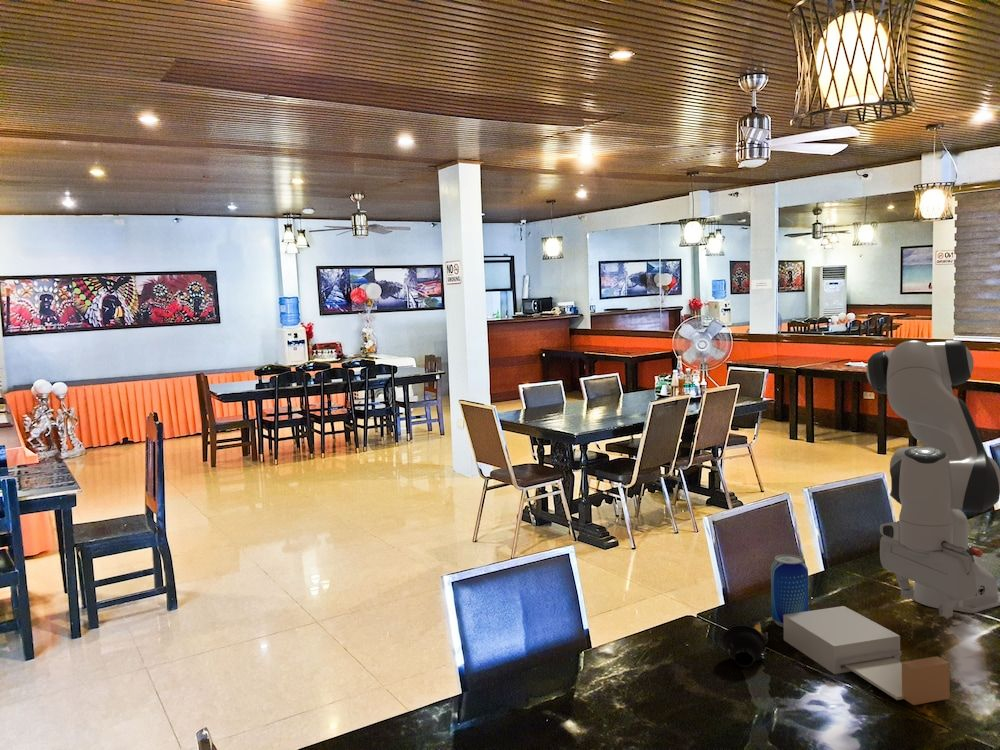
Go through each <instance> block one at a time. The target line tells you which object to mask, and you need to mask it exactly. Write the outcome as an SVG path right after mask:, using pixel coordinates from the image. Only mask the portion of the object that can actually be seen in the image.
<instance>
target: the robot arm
mask: <svg viewBox="0 0 1000 750" xmlns="http://www.w3.org/2000/svg"><path fill="white" fill-rule="evenodd" d="M974 363H975V361H974V357H973V355H972V352H971V351H970V349H969V348H968V346H967V345H966V343H964V342H962V341H961V340H956V339H955V340H954V339H950V340H949V339H947V340H945V341H932V342H931V341H930V342H924V341H922V340H914V339H913V340H912V339H911V340H906V341H904V342H903V341H902V342H901V343H899V344H898V345H896V346H895V347H894V348H892V349H889V350H885V349H883V350H881V351H877V352H875V353H872V354H871V355H870V357H869V358H868V359H867V363H866V364H867V365H866V373H865V374H866V378H867V380H868V383H869V385H870V386H871V388H872V390H874V391H875V392H876V393H878V394H881V395H887V400H888V403H889V405H890V408H891V410H892V411H894V413H895V414H896V415H898V416H899V417H900V418H902V419H904V420H905V421H906V422H907V426H908V430H909V432H910V434H911V435H912V436H913V438H914V439H916V440H917V441H919V442H920V443H922V444H923V445H925V446H921V445H920V446H919V445H917V446H916V445H915V446H905V447H900V448H898V449H897V450H896V451H894V453H893V454H892V456H891V458H890V460H889V474H890V478H891V479H890V483H891V485H890V486H891V490H890V493H889V495H890V497H891V498H892V499H894V501H896V502H897V503H898V504H900V505H901V507H900V508H901V509H900V512H899V516H898V518H899V519H898V520H897V521H892V522H887V523H882V524H881V523H880V526H879V532H880V535H882V536H881V538H880V541H879V558H880V560H879V561H880V563H881V566H882V567H883V569H884V570H887V571H889V572H891V573H894V574H895V579H896V581H897V584H898V586H899V587H900V597H901V598H903V599H906V600H913V601H915V602H917V603H918V604H921V605H924V606H927V607H929V608H930V607H931V608H935V609H938V614H939V615H940V616H942V617H944V618H945V619H946V618H952V617H953V615H954V611H956V612H961V613H962V612H963V613H968V614H975V613H978V612H982V611H984V610H985V611H986V610H989V609H993V608H995V607H998V606H1000V591H999V589H998V588H999V587H998V582H997V579H996V577H995V576H994V575H993V574H992V573H990V571H988V570H987V569H986V568H984V567H983V566H981V564H979V563H977V562H976V561H975V558H974V556H976V557H977V558H982V556H983V555H984V551H983V550H982V549H981V548H977V547H972V548H971V547H969V520H968V518H967V516H966V514H965V513H964V512H963V511H965V512H972V513H983V512H985V511H988V510H989V509H991V508H992V507H993V506H994V505H996V504H997V503H998V502H999V500H1000V467H999V465H998V464H997V461H995V460H994V459H993V458H992V457H991V456H988V453H987V451H986V448H985V446H984V444H983V440H982V439H981V435H980V433H979V431H978V428H977V426H976V424H975V421H974V419H973V416H972V414H971V412H970V410H969V408H968V406H967V405H966V403H965V401H964V400H962V399H961V398H959V397H956V396H954V392H953V388H952V386H953V387H955V386H959V385H962V384H964V383H967V382H968V381H969V380H970V378H971V377H972V373H973V370H974V366H975V364H974ZM910 581H913V582H914V584H913V587H911V583H910Z"/></svg>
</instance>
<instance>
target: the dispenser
mask: <svg viewBox="0 0 1000 750" xmlns="http://www.w3.org/2000/svg"><path fill="white" fill-rule="evenodd" d="M783 624H784V628H783V642H786V643H787V644H789V645H790V646H792V647H793V648H795V649H796V650H797V651H799V652H800V653H802V654H804V655H806V657H808V658H810V659H811V660H812V661H814V662H815V663H817V664H818V665H820V666H821V667H823V668H825V670H828V671H829V673H832V674H833V675H838V674H844V673H850V672H852V671H851V670H850V669H848V668H847V667H845V666H843V665H844V664H850V663H856V662H862V661H868V660H874V659H880V658H886V657H892V658H894V659H896V660H898V661H899V662H901V656H902V654H903V652H902V650H901V635H899V634H897V633H896V632H894V631H892V630H890V629H888V628H886V627H884V626H883V625H881V624H879V623H877V622H875V621H873V620H872V619H869V618H867V617H866V616H863V614H860V613H858V612H856V611H854V610H852V609H851V608H849V607H846V606H845V605H841V606H835V607H828V608H821V609H814V610H813V609H812V610H809V611H806V612H799V613H792V614H786V615H783Z"/></svg>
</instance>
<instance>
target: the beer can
mask: <svg viewBox="0 0 1000 750" xmlns="http://www.w3.org/2000/svg"><path fill="white" fill-rule="evenodd" d="M770 593H771V594H770V597H771V598H770V599H771V601H770V602H771V603H770V604H771V619H772V620H773V621H774V623H775V624H776V625H777V626H778V627H780V628H783V629H784V624H783V615H786V614H792V613H799V612H806V611H810V610H809V568H808V567H807V565H806V563H805V560H804V558H803V557H801V556H799V555H795V554H778V555H776V556H775V557H774V561H773V562H772V564H771V566H770Z"/></svg>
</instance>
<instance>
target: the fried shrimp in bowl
mask: <svg viewBox="0 0 1000 750" xmlns="http://www.w3.org/2000/svg"><path fill="white" fill-rule="evenodd" d="M761 628H762V625H761V622H759V621H756V622H755V623H754V625H753V626H749V625H745V624H744V625H743V624H741V625H734V626H731V627H729V628H728V629H727V630H725V632H724V633H723V634H722V639H721V640H722V645H723V647H724V649H725V650H726V653H727V654H728V655H729V657H730V658H731V659H732V660H733V661H734V662H735V663H736V665H737V666H740V667H743V668H749V667H751V666H753V664H754V663H755V662H756V661H757V660H758V659H759V658H760V656H761V655H762V654H763V653H765V651H766V647H765V646H766V644H768V640H769V639H768V638H769V636H768V635H769V634H768V632H766V631H764V632H762V629H761Z"/></svg>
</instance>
